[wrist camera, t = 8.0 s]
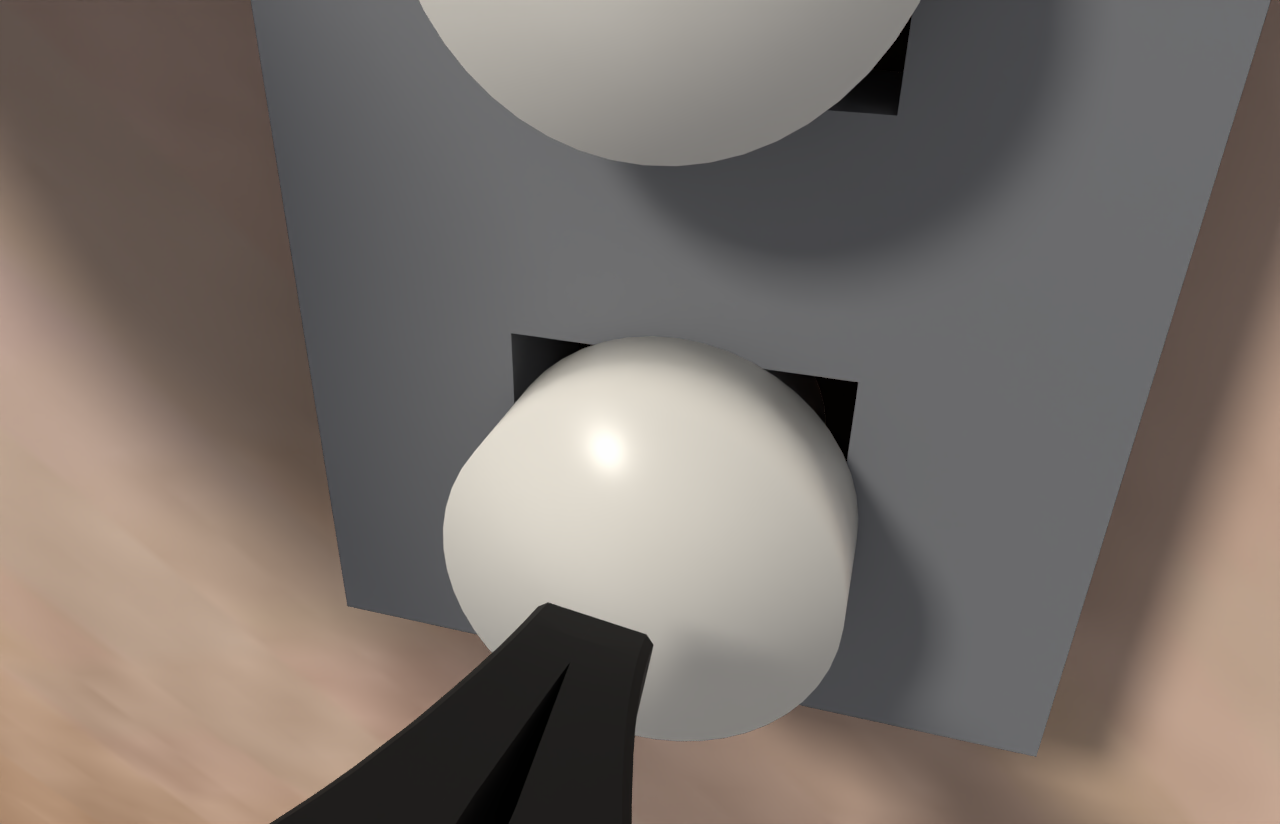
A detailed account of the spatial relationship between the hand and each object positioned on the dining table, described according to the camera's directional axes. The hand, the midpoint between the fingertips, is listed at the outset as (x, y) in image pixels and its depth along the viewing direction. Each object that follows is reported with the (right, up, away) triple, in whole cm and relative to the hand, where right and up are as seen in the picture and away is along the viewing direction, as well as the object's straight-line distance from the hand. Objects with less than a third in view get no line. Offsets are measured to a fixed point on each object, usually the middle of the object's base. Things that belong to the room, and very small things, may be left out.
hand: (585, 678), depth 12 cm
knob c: (+2, +3, +6) cm, 7 cm away
